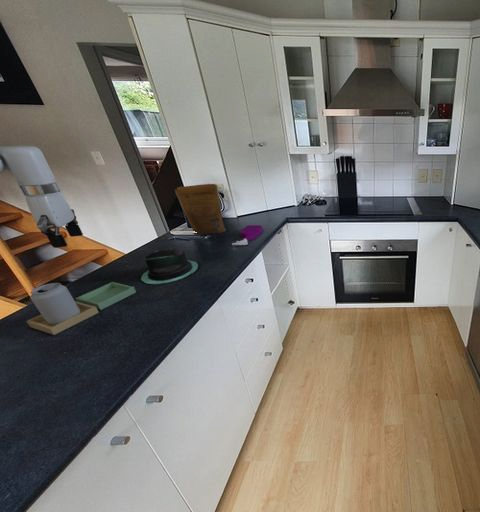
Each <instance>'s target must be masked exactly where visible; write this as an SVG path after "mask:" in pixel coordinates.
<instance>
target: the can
mask: <svg viewBox="0 0 480 512" xmlns="http://www.w3.org/2000/svg"><path fill="white" fill-rule="evenodd" d="M30 300H31V301H32V303H33V305H34V306H35V307H36V309H37V310H38V312H39V313H40V315H42V316H43V318H44V319H45V321H46V322H47V323H48V324H55V325H57V324H59V323H61V322H63V321H65V320H67V319H69V318H72V317H74V316H76V315H78V314H79V313H80V309H79V308H78V306H77V304H76V303H75V301H76V300H75V299H74V298H73V296H72V294H71V292H70V290H69V289H68V288H67V286H65V285H63V284H62V283H61V282H51V283H46V284H43V285H39V286H37V287H35V288H33V289H32V290H31V291H30Z"/></svg>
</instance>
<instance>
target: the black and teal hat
mask: <svg viewBox="0 0 480 512" xmlns="http://www.w3.org/2000/svg"><path fill="white" fill-rule="evenodd" d="M143 259H144V262H145V264H146V267H147V269H148V270H146V271H145V272H144V273H143V274H142V275H141V277H140V280H141V281H142V282H143V283H145V284H148V285H149V284H151V285H160V284H161V285H162V284H168V283H172V282H175V281H179V280H182V279H185V278H187V277H188V276H190V275H192V274H194V273H195V272H196V271H197V270H198V267H199V263H197V262H196V261H195V260H189V259H187V257H186V253H185V251H184V250H182V249H175V248H169V249H166V248H165V249H163V250H156V251H154V252H152V253H151V252H150V253H149V254H147V255H146V256H145V257H143Z"/></svg>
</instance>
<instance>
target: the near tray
mask: <svg viewBox="0 0 480 512" xmlns="http://www.w3.org/2000/svg"><path fill="white" fill-rule="evenodd" d="M74 301H75V303H76V304H77V306H78V308H79V309H80V313H79V314H78V315H76V316H74V317H72V318H69V319H67V320H65V321H63V322H61V323H59V324H57V325H55V324H48V323H47V322H46V321H45V319H44V318H43V316H42V315H41V314H39V315H37V316H34V317H32V318H30V319H27V320H26V323H27V324H28V326H29V327H30V328H33V329H35V330H38V331H41V332H44V333H47V334H50V335H52V336H55V335H57V334H59V333H62V332H63V331H66V330H67V329H69V328H71V327H73V326H76V325H78V324H79V323H81V322H84V321H85V320H88V319H89V318H91V317H93V316H95V315H97V314H100V312H99V309H97V308H96V307H94V306H91V305H87V304H84V303H80V302H77V300H74Z"/></svg>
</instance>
